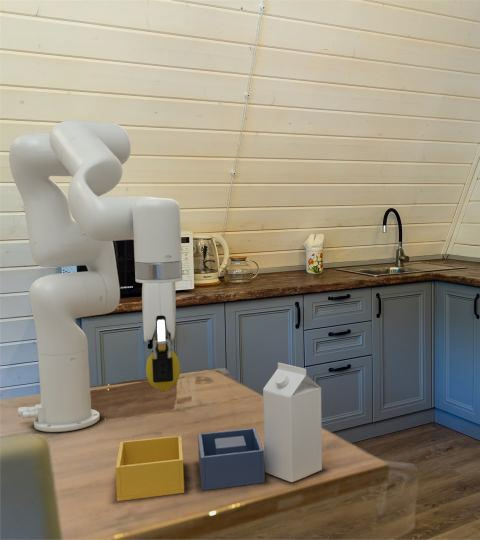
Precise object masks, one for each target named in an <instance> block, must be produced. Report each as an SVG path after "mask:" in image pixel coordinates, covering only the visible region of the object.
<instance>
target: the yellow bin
mask: <svg viewBox="0 0 480 540" xmlns="http://www.w3.org/2000/svg"><path fill="white" fill-rule="evenodd" d="M182 438H183V437H182V435H171V436H162V437H153V438H151V437H150V438H143V439H133V440H123V441H120V442H119V446H118V450H117V451H118V452H117V458H116V464H115V485H116V500H117V502H122V501H129V500H137V499H146V498H155V497H161V496H170V495H177V494H184V493H185V477H184V476H185V475H184V452H183V439H182Z"/></svg>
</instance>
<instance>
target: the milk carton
mask: <svg viewBox="0 0 480 540" xmlns="http://www.w3.org/2000/svg"><path fill="white" fill-rule="evenodd" d="M262 402H263V405H262V407H263V409H262V410H263V445H264V447H263V450H264V473H265V474H268V475H271V476H274V477H276V478H279V479H281V480H285V481H287V482H290V483H294V482H297V481H299V480H302V479H304V478H306V477H308V476H311V475H313V474H316V473H318V472H320V471H322V470H323V433H322V432H323V431H322V430H323V427H322V424H323V423H322V387H321V386H320V385H319V384H318V383H316V382H315V381H314V380H312V378H310V377H309V376H308V374H307V368H303V367H299V366H295V365H291V364H286V363H283V362H277V368H276V370H275V372H274V373H273V374H272V376H271V377H270V379H269V380H268V381H267V382H266V384H265V385H264V387H263V388H262Z"/></svg>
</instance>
